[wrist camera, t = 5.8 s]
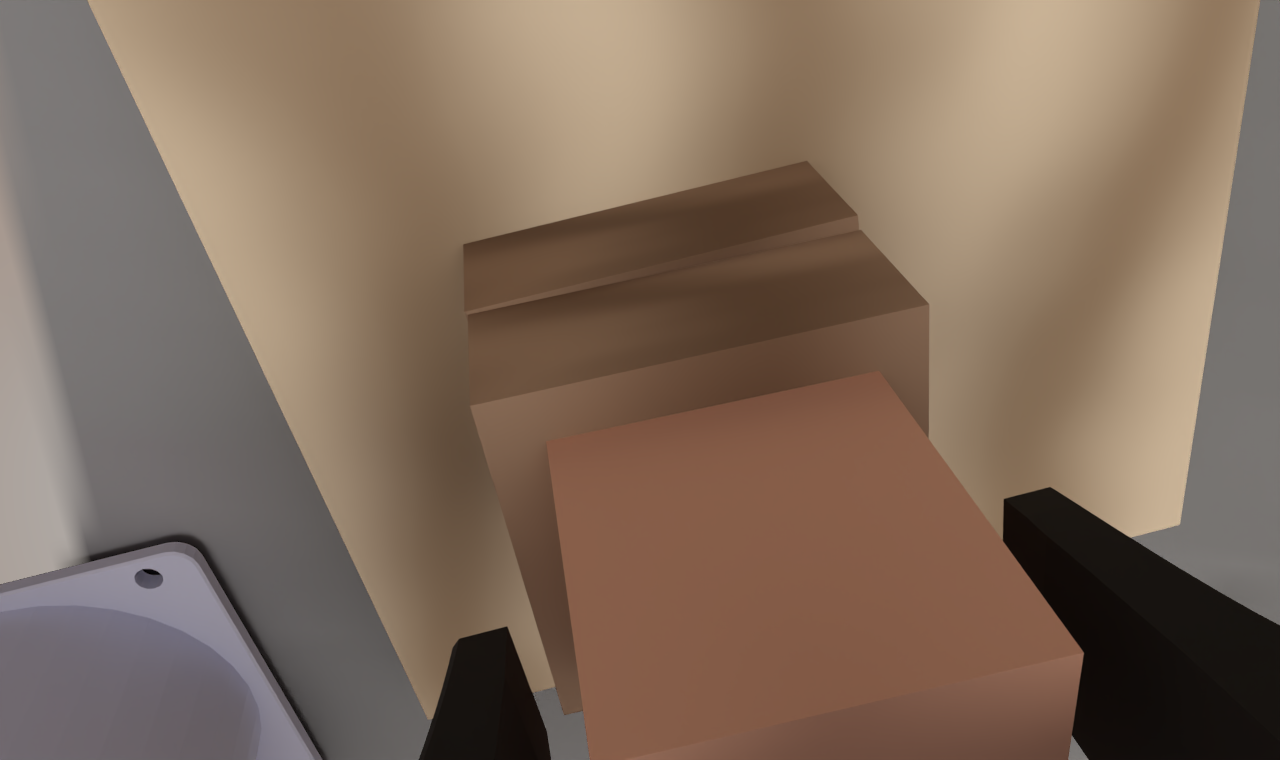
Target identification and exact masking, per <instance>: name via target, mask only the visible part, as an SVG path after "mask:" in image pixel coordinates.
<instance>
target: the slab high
mask: <svg viewBox="0 0 1280 760" xmlns="http://www.w3.org/2000/svg"><path fill="white" fill-rule="evenodd" d="M468 345H469V389H470V408H471V411H472V415H473V418H474V421H475V424H476V428H477V431H478V434H479V438H480V441H481V444H482V447H483V451H484V454H485V457H486V461H487V464H488V467H489V470H490V474H491V477H492V480H493V483H494V487H495V490H496V493H497V497H498V500H499V503H500V506H501V510H502V513H503V516H504V520H505V523H506V526H507V529H508V533H509V536H510V539H511V542H512V546H513V549H514V552H515V556H516V559H517V562H518V565H519V569H520V572H521V575H522V579H523V582H524V585H525V588H526V592H527V595H528V598H529V601H530V605H531V608H532V611H533V615H534V618H535V621H536V624H537V628H538V631H539V634H540V638H541V641H542V644H543V647H544V651H545V654H546V657H547V660H548V664H549V667H550V670H551V674H552V677H553V680H554V683H555V687H556V690H557V693H558V697H559V700H560V703H561V706H562V710H563V713H564V715H567V714H571V713H575V712H580V711H583V706H582V699H581V691H580V684H579V677H578V669H577V662H576V655H575V648H574V640H573V633H572V626H571V619H570V611H569V604H568V597H567V590H566V582H565V575H564V568H563V561H562V553H561V546H560V539H559V532H558V524H557V517H556V510H555V503H554V495H553V488H552V481H551V474H550V466H549V459H548V452H547V445H546V441H551V440H555V439H560V438H565V437H569V436H574V435H579V434H583V433H588V432H593V431H598V430H602V429H607V428H612V427H616V426H621V425H626V424H631V423H635V422H640V421H645V420H649V419H654V418H659V417H663V416H668V415H673V414H678V413H682V412H687V411H692V410H696V409H701V408H706V407H711V406H715V405H720V404H725V403H729V402H734V401H739V400H743V399H748V398H753V397H758V396H762V395H767V394H772V393H776V392H781V391H786V390H791V389H795V388H800V387H805V386H809V385H814V384H819V383H823V382H828V381H833V380H838V379H842V378H847V377H852V376H856V375H861V374H866V373H871V372H875V371H880V373H881V374H882V375H883V377H884V378H885V379H886V381H887V382H888V384H889V385H890V386H891V388H892V389H893V390H894V392H895V393H896V395H897V396H898V397H899V399H900V400H901V401H902V403H903V404H904V406H905V407H906V408H907V410H908V411H909V412H910V414H911V415H912V417H913V418H914V419H915V421H916V422H917V423H918V425H919V426H920V428H921V429H922V430H923V432H924V433H925V435H926V436H927V437H928V439H929V303H928V302H927V301H926V300H925V299H924V298H923V297H922V296H921V295H920V294H919V293H918V291H917V290H916V289H915V288H914V287H913V286H912V285H911V284H910V283H909V282H908V281H907V279H906V278H905V277H904V276H903V275H902V274H901V273H900V272H899V271H898V270H897V268H896V267H895V266H894V265H893V264H892V263H891V262H890V261H889V260H888V259H887V258H886V256H885V255H884V254H883V253H882V252H881V251H880V250H879V249H878V248H877V247H876V245H875V244H874V243H873V242H872V241H871V240H870V239H869V238H868V237H867V236H866V235H865V233H864V232H863V231H862V230H858V231H853V232H848V233H844V234H839V235H834V236H830V237H825V238H821V239H816V240H811V241H807V242H802V243H797V244H793V245H788V246H783V247H779V248H774V249H770V250H765V251H760V252H756V253H751V254H746V255H742V256H737V257H733V258H728V259H723V260H719V261H714V262H709V263H705V264H700V265H696V266H691V267H686V268H682V269H677V270H672V271H668V272H663V273H659V274H654V275H649V276H645V277H640V278H635V279H631V280H626V281H622V282H617V283H612V284H608V285H603V286H598V287H594V288H589V289H585V290H580V291H575V292H571V293H566V294H561V295H557V296H552V297H547V298H543V299H538V300H534V301H529V302H524V303H520V304H515V305H510V306H506V307H501V308H497V309H492V310H487V311H483V312H478V313H473V314H469V315H468Z"/></svg>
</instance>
